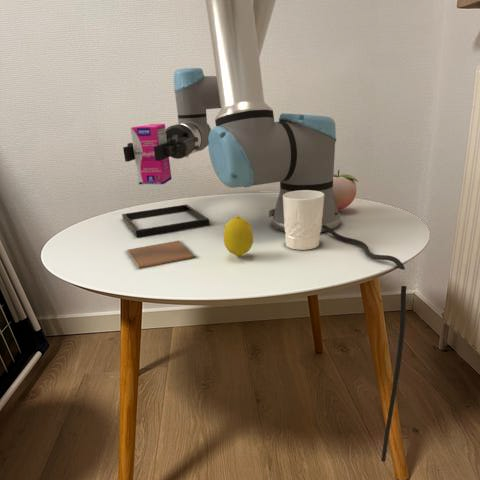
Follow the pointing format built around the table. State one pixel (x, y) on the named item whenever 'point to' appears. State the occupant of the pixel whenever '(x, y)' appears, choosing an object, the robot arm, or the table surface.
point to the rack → (166, 228)
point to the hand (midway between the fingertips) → (141, 154)
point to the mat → (160, 254)
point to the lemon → (238, 236)
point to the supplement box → (150, 154)
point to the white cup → (303, 218)
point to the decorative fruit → (344, 190)
